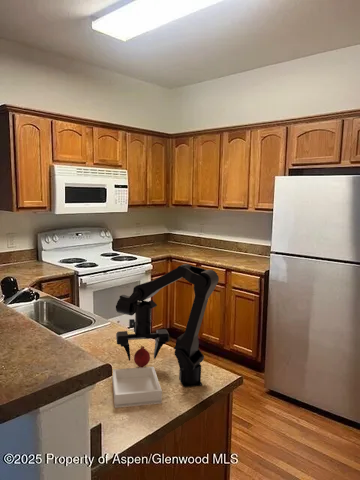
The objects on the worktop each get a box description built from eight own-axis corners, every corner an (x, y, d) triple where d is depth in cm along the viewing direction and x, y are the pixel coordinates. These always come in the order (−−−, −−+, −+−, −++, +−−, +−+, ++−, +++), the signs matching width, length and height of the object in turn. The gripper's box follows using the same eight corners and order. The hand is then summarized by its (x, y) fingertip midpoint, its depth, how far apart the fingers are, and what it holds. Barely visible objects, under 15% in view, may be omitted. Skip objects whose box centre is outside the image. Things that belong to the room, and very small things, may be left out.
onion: (147, 372, 130) (147, 350, 129) (131, 370, 131) (132, 348, 130) (151, 364, 135) (152, 344, 134) (136, 363, 136) (137, 342, 135)
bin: (153, 377, 126) (153, 366, 126) (161, 403, 111) (161, 390, 110) (112, 380, 123) (112, 369, 122) (114, 407, 107) (115, 395, 107)
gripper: (164, 309, 141) (163, 348, 143) (115, 311, 136) (114, 351, 138) (170, 319, 130) (168, 361, 132) (117, 321, 126) (116, 364, 127)
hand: (142, 359), depth 133 cm, fingers open, 9 cm apart
